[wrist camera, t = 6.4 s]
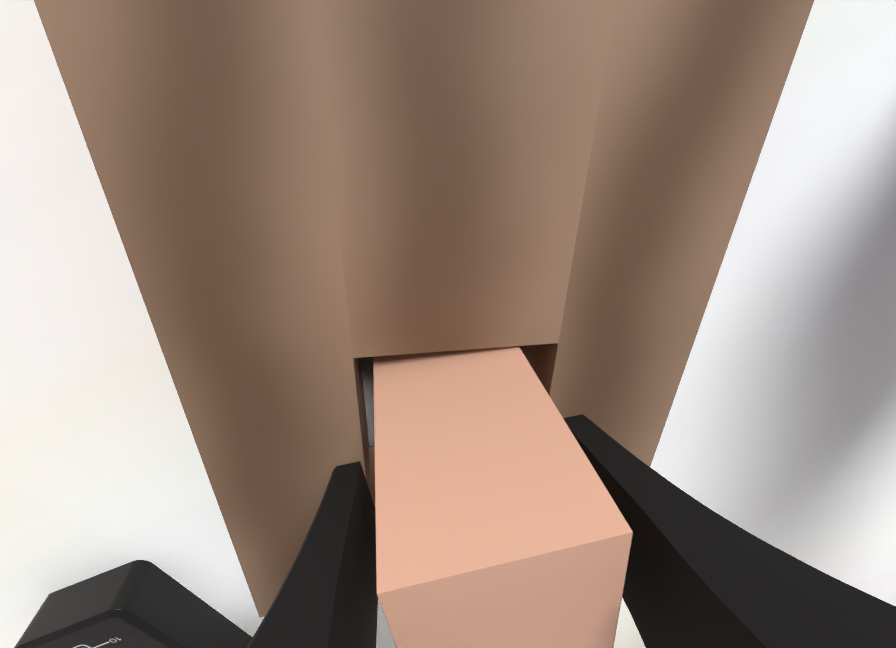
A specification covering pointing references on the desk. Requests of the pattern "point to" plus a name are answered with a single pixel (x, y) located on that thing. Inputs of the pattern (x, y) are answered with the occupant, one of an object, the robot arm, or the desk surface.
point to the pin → (489, 509)
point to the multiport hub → (130, 614)
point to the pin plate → (415, 206)
